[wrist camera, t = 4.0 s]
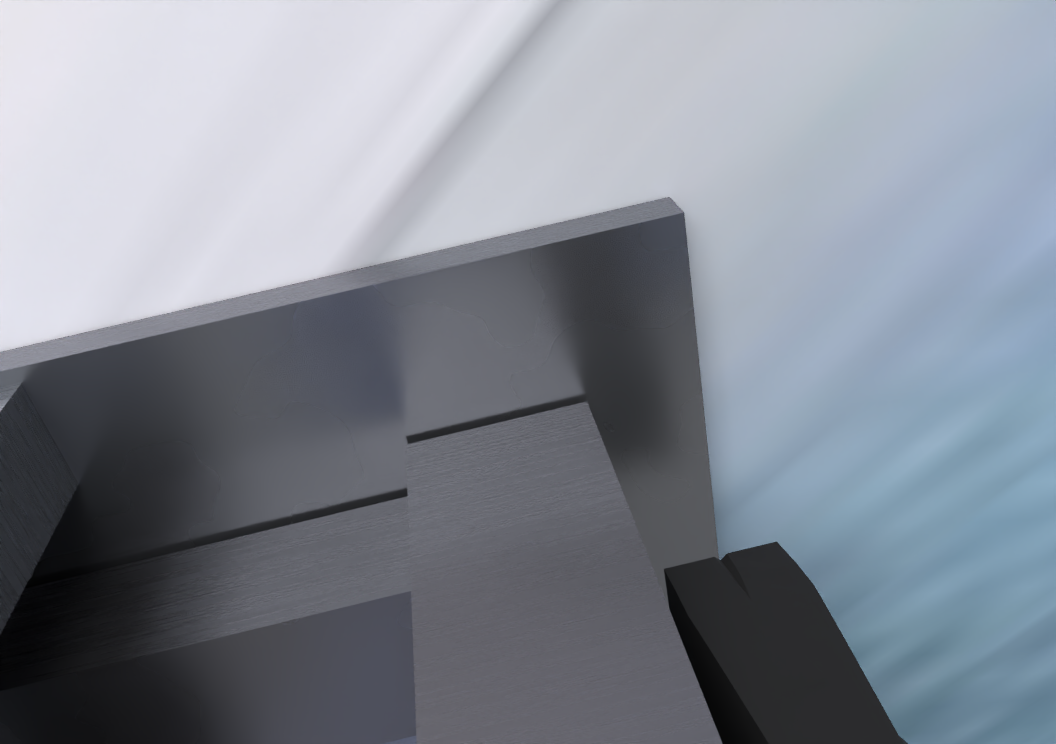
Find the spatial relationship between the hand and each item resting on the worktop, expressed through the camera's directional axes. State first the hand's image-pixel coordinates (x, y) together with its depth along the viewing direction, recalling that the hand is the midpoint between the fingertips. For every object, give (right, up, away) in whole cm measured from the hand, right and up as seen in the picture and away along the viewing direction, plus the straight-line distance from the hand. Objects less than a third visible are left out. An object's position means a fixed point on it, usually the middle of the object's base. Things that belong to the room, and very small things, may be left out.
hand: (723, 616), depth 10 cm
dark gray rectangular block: (-5, 0, +2) cm, 6 cm away
